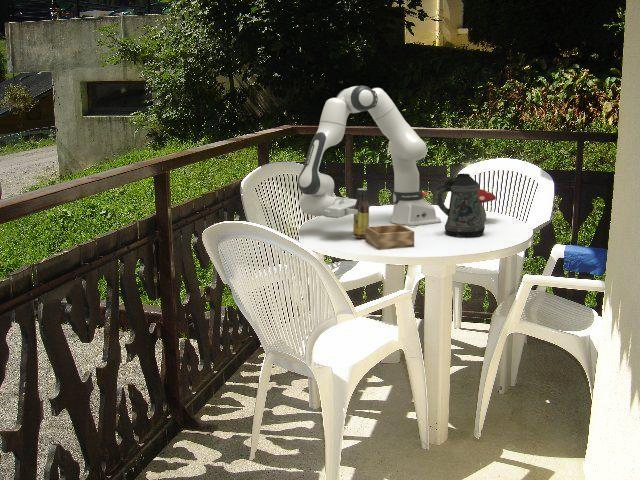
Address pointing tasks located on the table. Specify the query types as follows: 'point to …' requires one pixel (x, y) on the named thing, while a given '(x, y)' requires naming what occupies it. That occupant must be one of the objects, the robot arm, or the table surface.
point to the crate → (389, 236)
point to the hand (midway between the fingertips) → (363, 210)
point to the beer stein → (462, 207)
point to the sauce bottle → (361, 214)
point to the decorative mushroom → (484, 197)
